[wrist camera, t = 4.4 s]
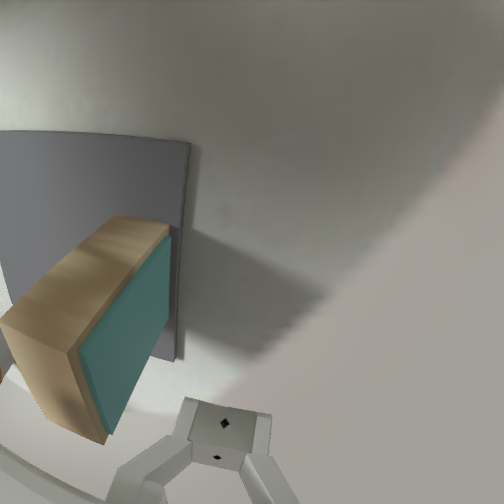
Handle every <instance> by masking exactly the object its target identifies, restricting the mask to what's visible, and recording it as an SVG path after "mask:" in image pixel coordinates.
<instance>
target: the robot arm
mask: <svg viewBox="0 0 504 504" xmlns="http://www.w3.org/2000/svg"><path fill="white" fill-rule="evenodd" d="M271 425H272V416H271V414H265V413H259V412H255V411H249V410H243V409H238V408H232V407H226V406H222V405H217V404H213V403H208V402H204V401H200V400H197V399H193V398H189V397H185V398H184V400H183V402H182V405H181V408H180V411H179V414H178V417H177V420H176V423H175V427H174V430H173V433H172V435H166V436H165V437H163V438H162V439H160V440H159V441H158V442H156V443H155V444H153V445H152V446H150V447H149V448H148V449H146V450H145V451H143V452H142V453H140V454H139V455H137V456H136V457H134V458H133V459H132V460H130V461H128V462H127V463H125V464H124V465H122V466H121V467H119V468H118V469H117V472H116V474H115V477H114V480H113V482H112V485H111V487H110V489H109V492H108V494H107V497H106V500H105V501H104V500H102V499H99V498H97V497H95V496H93V495H90V494H88V493H86V492H84V491H81V490H79V489H77V488H75V487H73V486H71V485H69V484H67V483H65V482H63V481H61V480H59V479H57V478H55V477H54V476H52V475H50V474H48V473H46V472H45V471H43V470H41V469H39V468H37V467H36V466H34V465H32V464H31V463H29V462H27V461H26V460H24V459H22V458H21V457H20V456H18V455H16V454H15V453H13V452H12V451H10V450H9V449H7V448H6V447H4V446H3V445H2V444H0V504H168V501H167V497H166V493H165V489H164V486H165V485H166V484H167V483H168V482H170V481H171V480H172V479H173V478H174V477H176V476H177V475H178V474H179V473H180V472H181V471H183V470H184V469H185V468H186V467H187V466H188V465H189V464H190V463H191V462H196V463H201V464H205V465H210V466H215V467H220V468H224V469H229V470H234V471H238V472H239V475H240V477H241V479H242V482H243V484H244V486H245V488H246V490H247V493H248V495H249V497H250V499H251V501H252V503H253V504H300V502H299V501H298V499H297V497H296V496H295V494H294V492H293V491H292V489H291V487H290V486H289V484H288V483H287V481H286V479H285V477H284V476H283V474H282V472H281V471H280V469H279V467H278V466H277V464H276V462H275V460H274V459H273V457H271V456H268V454H269V444H270V435H271Z"/></svg>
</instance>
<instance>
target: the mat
mask: <svg viewBox="0 0 504 504" xmlns="http://www.w3.org/2000/svg"><path fill="white" fill-rule="evenodd" d="M190 144H191V143H185V142H178V141H170V140H162V139H154V138H145V137H135V136H125V135H113V134H100V133H85V132H66V131H27V130H13V131H0V263H1V267H2V271H3V275H4V278H5V282H6V285H7V289H8V292H9V296H10V299H11V302H12V304H15V303H16V302H17V301H18V300H19V299H20V298H21V297H22V296H23V295H24V294H25V293H26V292H27V291H28V290H29V289H30V288H31V287H32V286H33V285H34V284H35V283H37V282H38V281H39V280H40V279H41V278H42V277H43V276H44V275H45V274H46V273H47V272H48V271H49V270H51V269H52V268H53V267H54V266H55V265H56V264H57V263H58V262H59V261H61V260H62V259H63V258H64V257H65V256H66V255H67V254H68V253H70V252H71V251H72V250H73V249H74V248H75V247H77V246H78V245H79V244H80V243H81V242H82V241H84V240H85V239H86V238H87V237H88V236H90V235H91V234H92V233H93V232H94V231H96V230H97V229H98V228H99V227H101V226H102V225H103V224H104V223H106V222H107V221H108V220H109V219H111V218H112V217H113V216H114V215H116V214H122V215H127V216H132V217H137V218H142V219H147V220H152V221H157V222H162V223H167V224H170V227H169V236H170V237H171V255H170V280H169V319H168V321H167V323H166V325H165V327H164V329H163V330H162V332H161V334H160V336H159V338H158V340H157V342H156V344H155V346H154V348H153V350H152V353H151V355H150V356H153V357H156V358H160V359H163V360H167V361H171V362H174V361H175V359H176V331H177V301H178V280H179V262H180V247H181V233H182V221H183V209H184V198H185V188H186V179H187V169H188V160H189V152H190Z"/></svg>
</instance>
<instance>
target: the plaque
mask: <svg viewBox="0 0 504 504" xmlns="http://www.w3.org/2000/svg"><path fill="white" fill-rule="evenodd" d="M169 227H170V224H167V223H162V222H157V221H152V220H147V219H142V218H137V217H132V216H127V215H122V214H116V215H114V216H113V217H112V218H111V219H109V220H108V221H107V222H106V223H104V224H103V225H102V226H101V227H99V228H98V229H97V230H96V231H94V232H93V233H92V234H91V235H90V236H88V237H87V238H86V239H85V240H84V241H82V242H81V243H80V244H79V245H78V246H77V247H75V248H74V249H73V250H72V251H71V252H70V253H68V254H67V255H66V256H65V257H64V258H63V259H62V260H61V261H59V262H58V263H57V264H56V265H55V266H54V267H53V268H52V269H51V270H49V271H48V272H47V273H46V274H45V275H44V276H43V277H42V278H41V279H40V280H39V281H38V282H37V283H35V284H34V285H33V286H32V287H31V288H30V289H29V290H28V291H27V292H26V293H25V294H24V295H23V296H22V297H21V298H20V299H19V300H18V301H17V302H16V303H15V304H14V305H13V306H12V307H11V308H10V309H9V310H8V311H7V312H6V313H5V314H4V315H3V316H2V317H1V318H0V327H1V330H2V332H3V335H4V337H5V339H6V342H7V344H8V346H9V349H10V351H11V353H12V355H13V357H14V360H15V362H16V364H17V366H18V368H19V370H20V372H21V374H22V376H23V378H24V380H25V382H26V384H27V386H28V387H29V389H30V391H31V393H32V395H33V397H34V398H35V400H36V402H37V404H38V405H39V407H40V409H41V410H42V412H43V414H44V415H45V417H46V419H48V420H50V421H52V422H53V423H55V424H57V425H59V426H61V427H63V428H65V429H68V430H70V431H72V432H74V433H76V434H79V435H80V436H83V437H85V438H87V439H89V440H92V441H94V442H96V443H99V444H101V445H104V444H105V442H106V439H107V437H108V435H109V434H111V435H113V433H114V430H115V428H116V426H117V424H118V421H119V419H120V417H121V415H122V413H123V411H124V409H125V407H126V404H127V402H128V400H129V398H130V396H131V394H132V392H133V390H134V387H135V385H136V383H137V381H138V379H139V377H140V375H141V373H142V371H143V369H144V367H145V365H146V363H147V361H148V359H149V357H150V355H151V353H152V350H153V348H154V346H155V344H156V342H157V340H158V338H159V336H160V334H161V332H162V330H163V329H164V327H165V325H166V323H167V321H168V319H169V280H170V255H171V237H170V236H169Z"/></svg>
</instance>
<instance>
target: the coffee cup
mask: <svg viewBox="0 0 504 504" xmlns="http://www.w3.org/2000/svg"><path fill="white" fill-rule="evenodd" d="M14 361H15V360H14V357H13V355H12V353H11V351H10V349H9V346H8V344H7V342H6V339H5V337H4V335H3V332H2V330H1V327H0V384H1V382H2V379H3V377H4V376H5V374H6V373H7V371H8V370H9V368H10V367H11V365H12V364H13V362H14Z"/></svg>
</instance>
